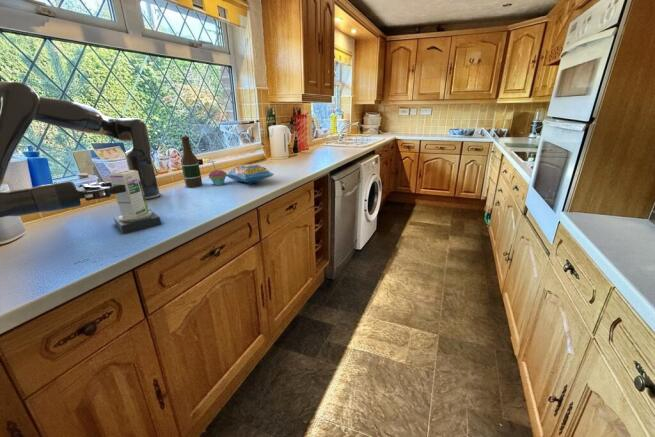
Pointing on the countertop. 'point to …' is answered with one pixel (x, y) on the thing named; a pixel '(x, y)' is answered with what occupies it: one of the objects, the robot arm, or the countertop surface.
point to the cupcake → (217, 176)
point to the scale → (137, 222)
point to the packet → (249, 173)
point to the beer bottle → (190, 165)
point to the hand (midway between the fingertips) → (122, 186)
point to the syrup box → (129, 193)
